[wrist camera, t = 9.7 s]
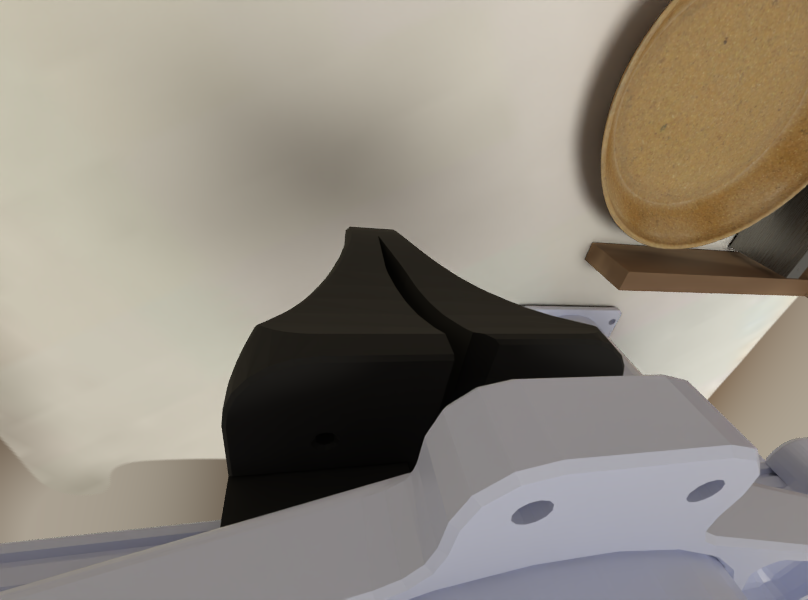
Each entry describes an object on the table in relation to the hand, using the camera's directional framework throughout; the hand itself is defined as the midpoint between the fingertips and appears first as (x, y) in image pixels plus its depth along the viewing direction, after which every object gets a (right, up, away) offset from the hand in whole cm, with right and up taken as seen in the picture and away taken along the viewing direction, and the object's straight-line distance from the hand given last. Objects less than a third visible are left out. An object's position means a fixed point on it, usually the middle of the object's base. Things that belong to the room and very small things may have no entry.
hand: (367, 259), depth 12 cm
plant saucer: (+17, +9, +10) cm, 22 cm away
